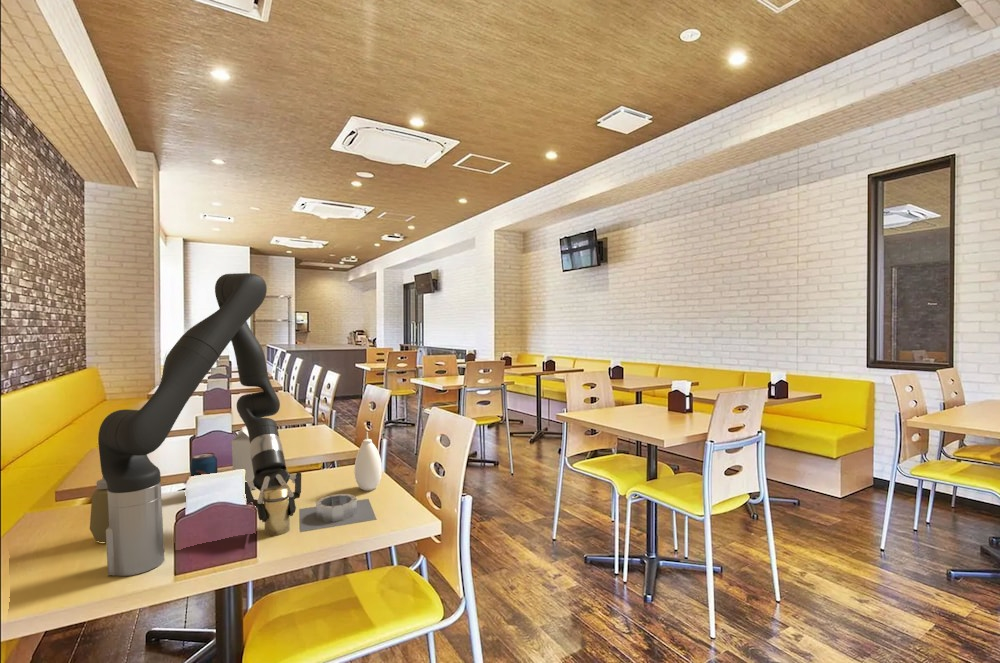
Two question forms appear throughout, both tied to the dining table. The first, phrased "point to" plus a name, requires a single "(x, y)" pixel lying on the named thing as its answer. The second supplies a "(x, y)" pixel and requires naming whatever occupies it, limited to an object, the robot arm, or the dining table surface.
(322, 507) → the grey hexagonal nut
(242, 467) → the milk carton
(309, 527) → the mat
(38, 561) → the dining table surface
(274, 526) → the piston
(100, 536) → the squeeze bottle
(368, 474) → the sauce bottle
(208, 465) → the soda can
